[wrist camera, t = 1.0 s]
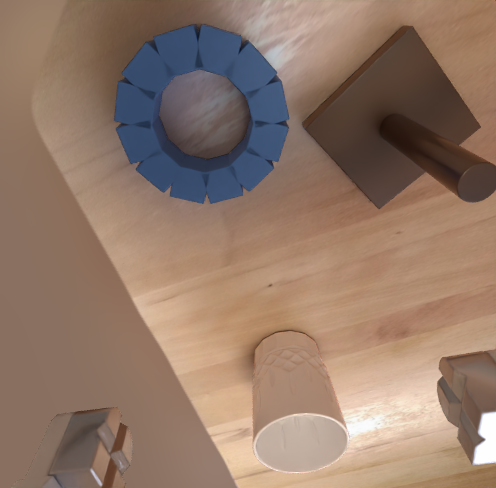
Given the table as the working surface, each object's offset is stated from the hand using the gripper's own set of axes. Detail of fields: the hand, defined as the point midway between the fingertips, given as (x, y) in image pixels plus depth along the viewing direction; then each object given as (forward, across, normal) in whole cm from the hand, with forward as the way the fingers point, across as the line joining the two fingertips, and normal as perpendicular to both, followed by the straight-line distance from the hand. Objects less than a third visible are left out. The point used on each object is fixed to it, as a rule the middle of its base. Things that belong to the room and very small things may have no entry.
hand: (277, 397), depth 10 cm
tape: (+23, +3, -3) cm, 23 cm away
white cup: (+23, 0, +22) cm, 32 cm away
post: (+23, -10, 0) cm, 25 cm away
